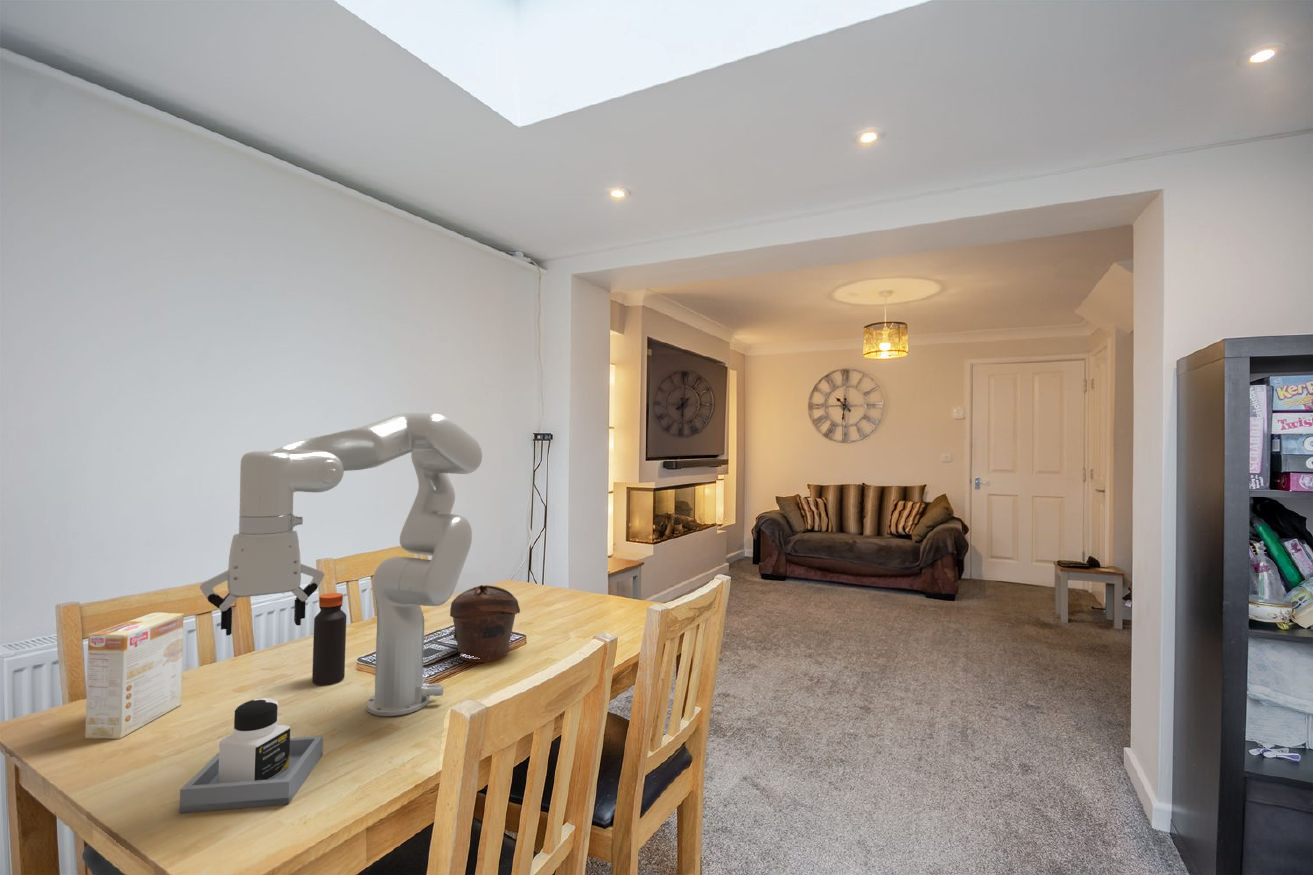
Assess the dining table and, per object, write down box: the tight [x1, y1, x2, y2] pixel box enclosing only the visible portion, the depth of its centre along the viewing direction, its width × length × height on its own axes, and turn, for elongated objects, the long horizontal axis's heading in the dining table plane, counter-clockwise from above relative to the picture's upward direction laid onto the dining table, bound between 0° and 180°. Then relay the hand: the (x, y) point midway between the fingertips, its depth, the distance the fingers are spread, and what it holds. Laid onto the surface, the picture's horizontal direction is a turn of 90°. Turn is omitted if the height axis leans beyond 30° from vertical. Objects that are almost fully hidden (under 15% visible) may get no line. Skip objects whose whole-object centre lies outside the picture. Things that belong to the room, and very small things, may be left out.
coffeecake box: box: [84, 612, 185, 740], centre depth 120 cm, size 15×7×20 cm, turn 1°
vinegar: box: [311, 592, 347, 686], centre depth 142 cm, size 7×7×20 cm
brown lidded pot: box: [449, 584, 521, 663], centre depth 163 cm, size 18×20×18 cm
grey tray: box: [178, 735, 324, 814], centre depth 100 cm, size 15×15×4 cm
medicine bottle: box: [218, 697, 291, 783], centre depth 100 cm, size 7×7×12 cm
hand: (264, 628), depth 100 cm, fingers open, 9 cm apart
